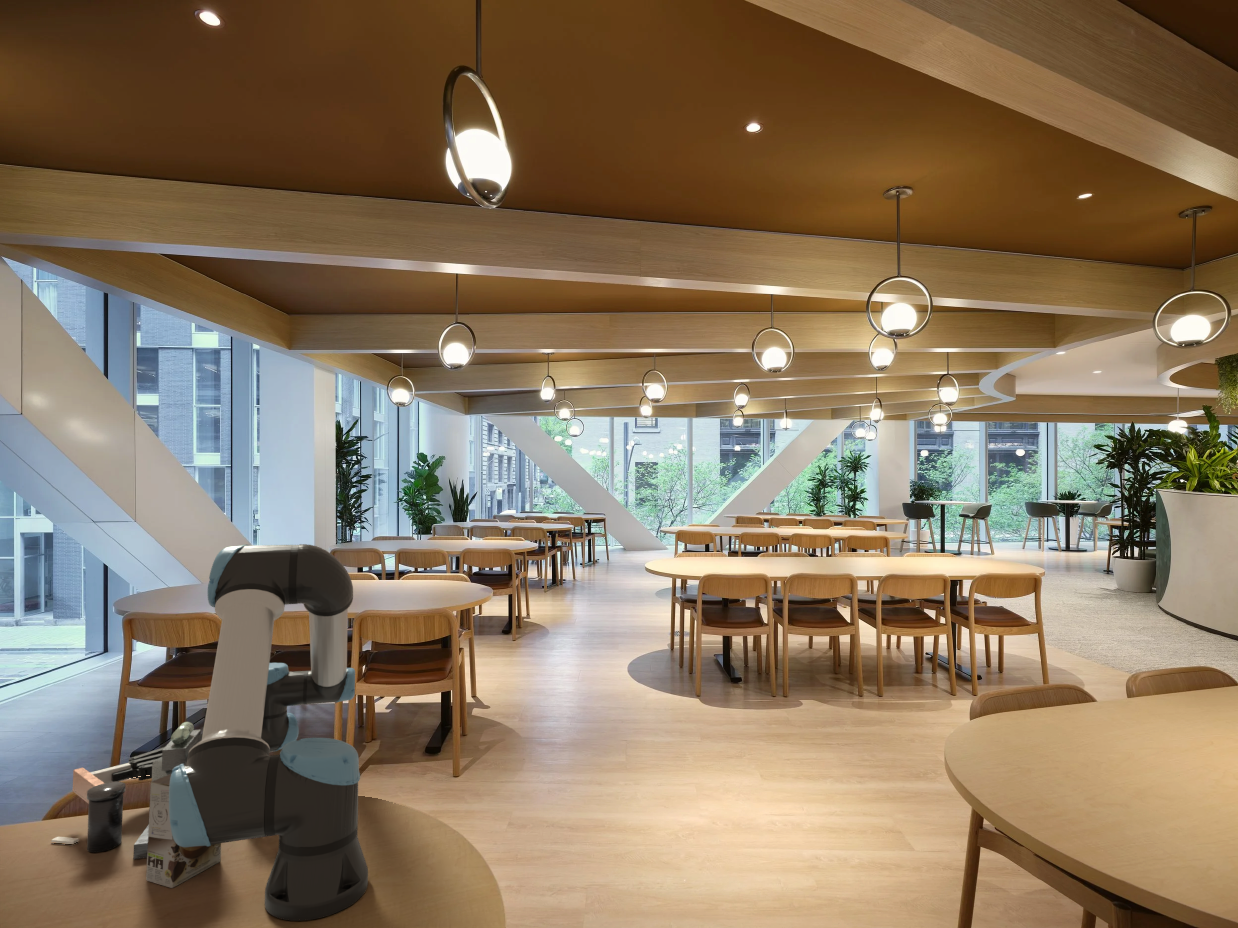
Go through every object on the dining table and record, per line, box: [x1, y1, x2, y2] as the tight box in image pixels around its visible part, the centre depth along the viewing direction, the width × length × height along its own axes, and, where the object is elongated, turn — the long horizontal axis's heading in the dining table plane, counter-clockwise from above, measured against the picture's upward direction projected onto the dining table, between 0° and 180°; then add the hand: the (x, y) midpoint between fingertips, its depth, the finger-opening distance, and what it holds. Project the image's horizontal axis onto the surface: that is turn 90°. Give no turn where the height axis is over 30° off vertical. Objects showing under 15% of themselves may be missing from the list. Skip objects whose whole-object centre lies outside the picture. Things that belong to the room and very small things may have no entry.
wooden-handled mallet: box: [72, 767, 127, 853], centre depth 130 cm, size 18×6×10 cm, turn 53°
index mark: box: [50, 836, 80, 845], centre depth 127 cm, size 4×1×1 cm, turn 82°
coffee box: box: [145, 774, 222, 889], centre depth 118 cm, size 9×6×16 cm
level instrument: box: [132, 721, 202, 860], centre depth 129 cm, size 11×11×20 cm
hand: (89, 780), depth 134 cm, fingers closed
